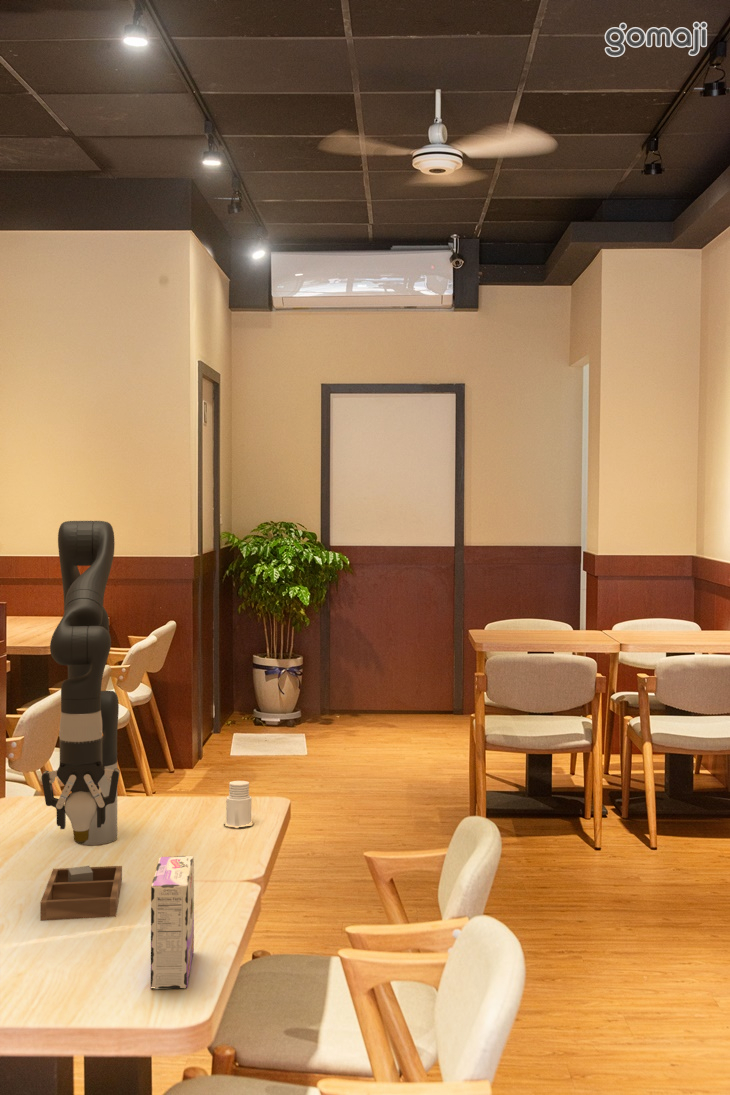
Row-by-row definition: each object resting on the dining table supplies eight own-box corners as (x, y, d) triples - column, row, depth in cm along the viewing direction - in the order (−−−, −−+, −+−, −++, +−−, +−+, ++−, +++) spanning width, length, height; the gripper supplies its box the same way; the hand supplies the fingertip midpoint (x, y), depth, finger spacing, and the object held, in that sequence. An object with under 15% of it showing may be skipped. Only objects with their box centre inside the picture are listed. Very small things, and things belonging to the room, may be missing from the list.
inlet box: (53, 889, 206) (53, 868, 206) (121, 885, 208) (121, 865, 208) (40, 924, 188) (40, 902, 188) (115, 920, 191) (115, 898, 190)
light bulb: (88, 849, 191) (88, 794, 190) (58, 847, 192) (58, 792, 192) (103, 840, 196) (103, 786, 196) (73, 837, 198) (73, 784, 197)
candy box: (159, 953, 177) (159, 855, 176) (194, 952, 177) (195, 854, 177) (149, 990, 163) (149, 884, 163) (188, 989, 164) (188, 883, 163)
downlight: (251, 830, 246) (252, 786, 246) (221, 829, 246) (221, 786, 246) (255, 821, 254) (256, 779, 254) (226, 821, 254) (226, 779, 254)
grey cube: (67, 889, 204) (67, 868, 204) (89, 886, 206) (89, 865, 206) (71, 895, 201) (71, 874, 200) (92, 892, 202) (92, 872, 202)
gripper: (122, 730, 198) (122, 819, 199) (42, 732, 196) (43, 822, 197) (120, 738, 191) (120, 831, 192) (37, 741, 189) (37, 835, 189)
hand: (81, 826), depth 194 cm, fingers closed on light bulb, 6 cm apart
